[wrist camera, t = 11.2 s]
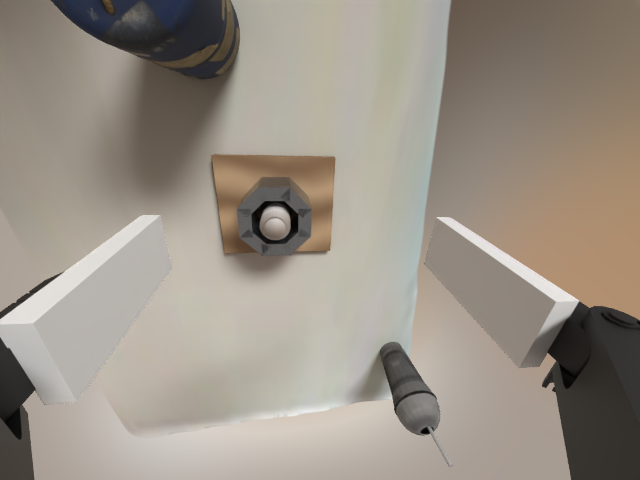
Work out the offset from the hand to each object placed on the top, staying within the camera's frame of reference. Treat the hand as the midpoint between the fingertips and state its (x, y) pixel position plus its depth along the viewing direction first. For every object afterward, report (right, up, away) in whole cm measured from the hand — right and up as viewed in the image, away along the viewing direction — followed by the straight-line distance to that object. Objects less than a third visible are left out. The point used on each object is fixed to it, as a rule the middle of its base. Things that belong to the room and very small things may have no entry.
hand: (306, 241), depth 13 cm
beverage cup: (+15, -23, +41) cm, 49 cm away
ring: (-5, +5, +24) cm, 25 cm away
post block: (-6, +5, +25) cm, 27 cm away
